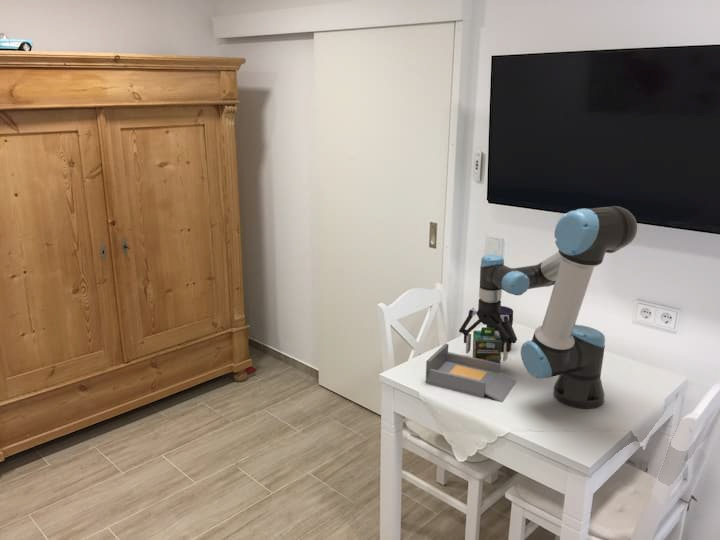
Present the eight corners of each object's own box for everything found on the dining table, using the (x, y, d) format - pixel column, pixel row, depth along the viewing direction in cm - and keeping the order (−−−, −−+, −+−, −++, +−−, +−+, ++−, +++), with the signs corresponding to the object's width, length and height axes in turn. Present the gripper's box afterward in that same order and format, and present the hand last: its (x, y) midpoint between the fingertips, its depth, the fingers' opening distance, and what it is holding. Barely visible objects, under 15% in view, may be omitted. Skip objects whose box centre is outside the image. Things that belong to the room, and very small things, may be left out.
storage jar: (481, 349, 222) (484, 312, 218) (486, 340, 231) (489, 304, 227) (508, 354, 219) (511, 316, 214) (512, 344, 227) (515, 307, 223)
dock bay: (516, 382, 199) (518, 359, 196) (502, 403, 185) (504, 379, 183) (444, 365, 211) (445, 343, 209) (425, 384, 197) (426, 361, 195)
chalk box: (497, 359, 214) (499, 321, 210) (500, 371, 206) (503, 331, 201) (471, 358, 215) (473, 320, 211) (473, 370, 206) (475, 330, 202)
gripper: (529, 301, 200) (524, 359, 206) (459, 290, 212) (456, 344, 218) (523, 308, 194) (518, 367, 200) (451, 296, 206) (449, 352, 212)
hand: (486, 355), depth 209 cm, fingers open, 13 cm apart
